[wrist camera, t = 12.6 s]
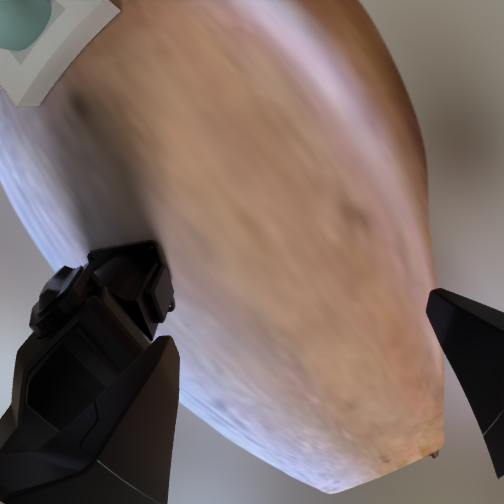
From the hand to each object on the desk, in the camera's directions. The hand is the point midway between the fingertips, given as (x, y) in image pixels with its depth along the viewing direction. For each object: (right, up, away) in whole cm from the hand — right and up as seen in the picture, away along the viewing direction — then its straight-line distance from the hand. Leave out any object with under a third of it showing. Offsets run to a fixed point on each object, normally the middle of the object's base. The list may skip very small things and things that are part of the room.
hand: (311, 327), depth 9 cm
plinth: (-19, +21, +4) cm, 28 cm away
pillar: (-19, +19, +1) cm, 27 cm away
